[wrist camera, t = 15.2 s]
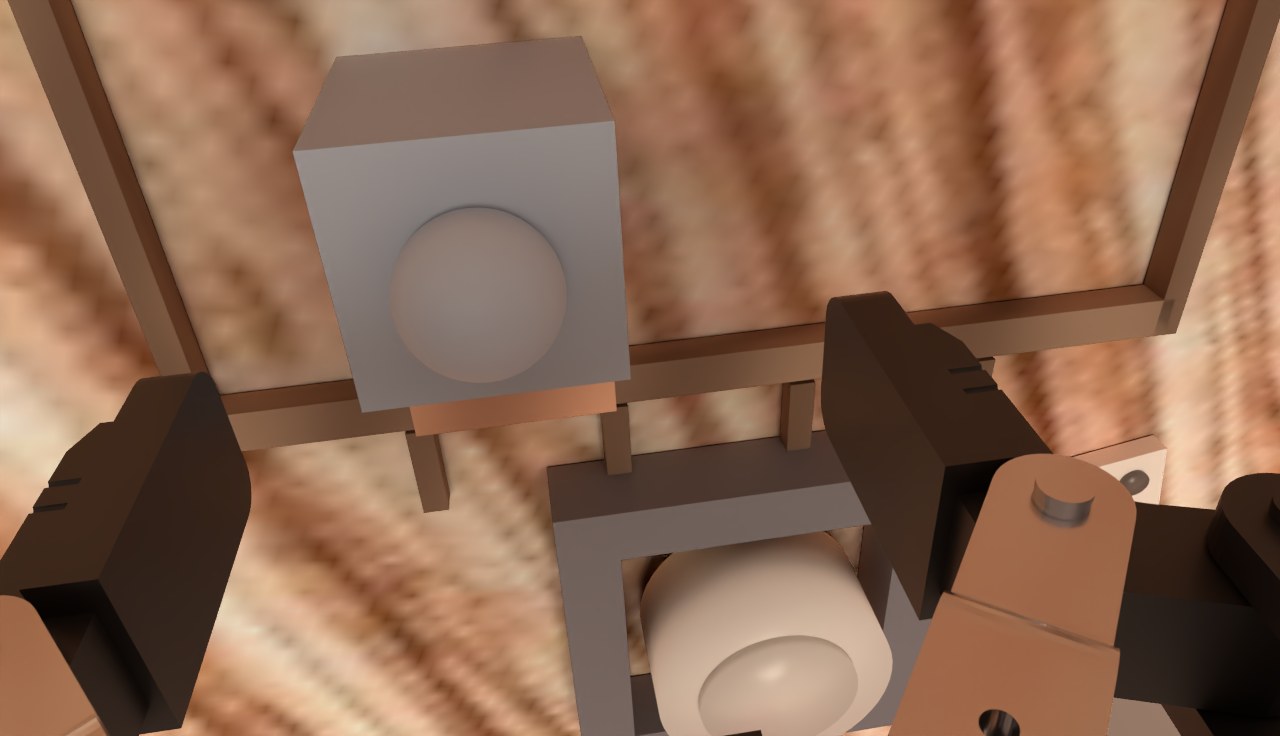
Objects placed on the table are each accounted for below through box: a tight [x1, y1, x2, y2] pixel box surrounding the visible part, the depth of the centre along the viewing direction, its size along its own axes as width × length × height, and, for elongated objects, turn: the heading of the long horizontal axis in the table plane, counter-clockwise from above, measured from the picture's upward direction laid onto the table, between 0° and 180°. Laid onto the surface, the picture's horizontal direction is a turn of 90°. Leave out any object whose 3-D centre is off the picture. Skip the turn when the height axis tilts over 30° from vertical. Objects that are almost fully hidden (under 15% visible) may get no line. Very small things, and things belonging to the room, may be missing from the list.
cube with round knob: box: [293, 36, 631, 413], centre depth 15 cm, size 4×4×7 cm
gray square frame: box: [547, 431, 932, 736], centre depth 25 cm, size 10×10×2 cm
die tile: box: [1073, 435, 1167, 505], centre depth 26 cm, size 4×4×1 cm
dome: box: [640, 531, 893, 736], centre depth 24 cm, size 6×6×3 cm
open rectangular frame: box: [8, 0, 1280, 513], centre depth 19 cm, size 23×14×1 cm, turn 93°
